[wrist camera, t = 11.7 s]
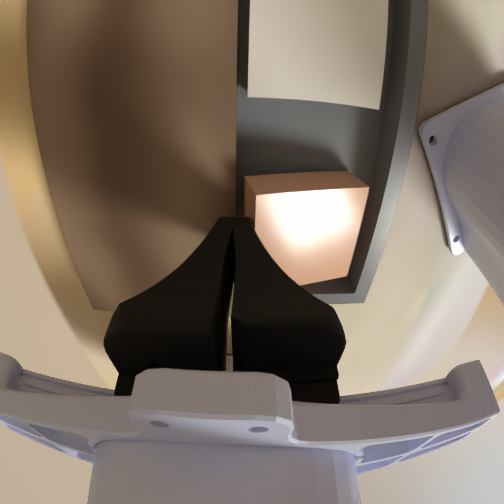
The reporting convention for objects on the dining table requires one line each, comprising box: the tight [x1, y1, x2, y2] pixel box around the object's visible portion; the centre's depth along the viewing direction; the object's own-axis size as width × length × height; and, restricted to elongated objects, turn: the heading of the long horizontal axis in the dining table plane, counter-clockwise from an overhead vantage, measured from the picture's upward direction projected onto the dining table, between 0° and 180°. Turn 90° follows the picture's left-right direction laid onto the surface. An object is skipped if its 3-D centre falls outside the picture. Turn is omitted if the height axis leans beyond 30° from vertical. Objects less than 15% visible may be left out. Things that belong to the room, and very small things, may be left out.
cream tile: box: [248, 0, 388, 110], centre depth 9 cm, size 5×5×2 cm
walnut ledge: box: [27, 0, 239, 317], centre depth 11 cm, size 9×20×2 cm, turn 179°
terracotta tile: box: [244, 171, 369, 286], centre depth 14 cm, size 5×5×2 cm
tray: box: [237, 0, 428, 304], centre depth 12 cm, size 7×18×2 cm, turn 179°
